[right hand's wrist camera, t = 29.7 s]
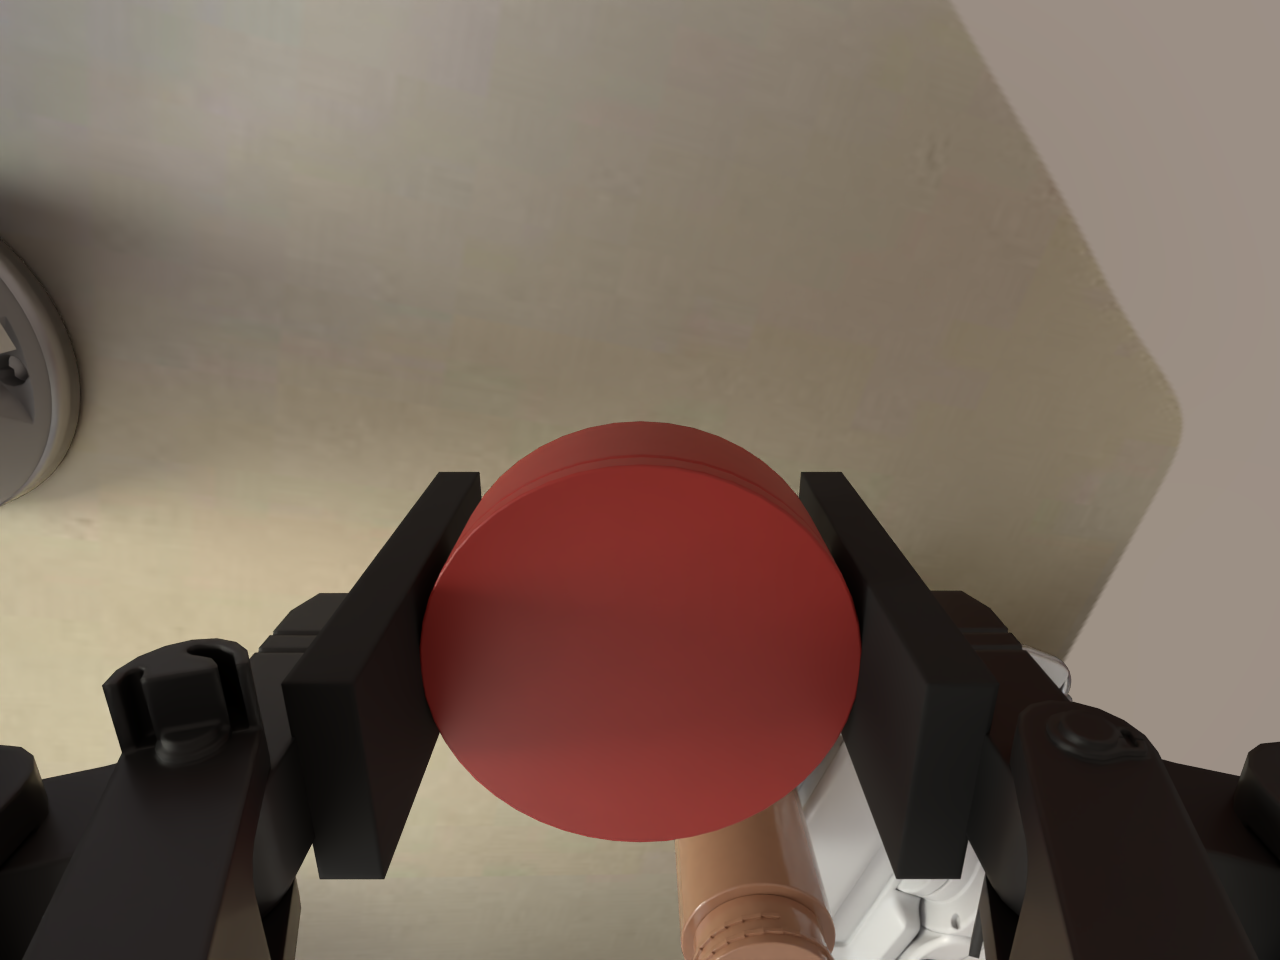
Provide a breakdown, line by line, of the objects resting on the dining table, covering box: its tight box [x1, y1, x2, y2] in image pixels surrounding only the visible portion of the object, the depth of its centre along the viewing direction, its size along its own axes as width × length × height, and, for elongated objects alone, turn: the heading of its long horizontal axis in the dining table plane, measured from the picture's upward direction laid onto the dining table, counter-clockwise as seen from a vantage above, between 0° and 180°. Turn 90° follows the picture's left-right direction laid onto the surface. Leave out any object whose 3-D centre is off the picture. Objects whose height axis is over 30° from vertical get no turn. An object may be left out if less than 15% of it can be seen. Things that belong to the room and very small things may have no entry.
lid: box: [419, 421, 862, 842], centre depth 11 cm, size 6×6×2 cm
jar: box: [675, 787, 836, 960], centre depth 32 cm, size 5×5×17 cm
